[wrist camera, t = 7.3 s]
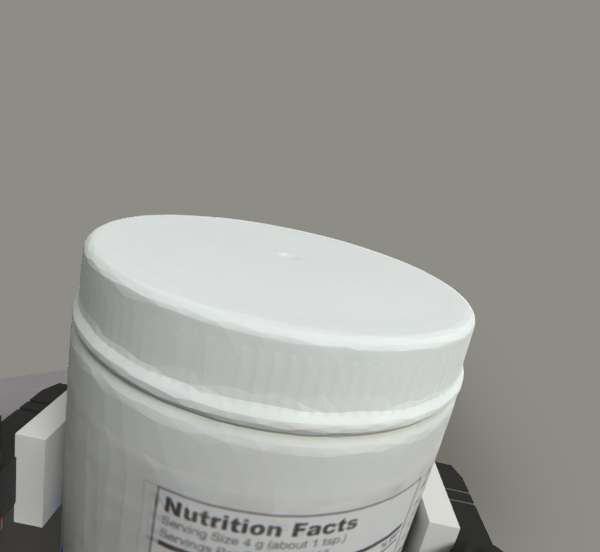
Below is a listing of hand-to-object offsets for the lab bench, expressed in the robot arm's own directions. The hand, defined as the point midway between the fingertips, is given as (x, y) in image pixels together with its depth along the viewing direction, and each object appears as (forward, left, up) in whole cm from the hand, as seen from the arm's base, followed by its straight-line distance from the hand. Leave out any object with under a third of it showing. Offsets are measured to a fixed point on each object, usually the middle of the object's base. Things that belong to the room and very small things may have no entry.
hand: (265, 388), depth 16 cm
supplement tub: (+4, -2, -8) cm, 9 cm away
